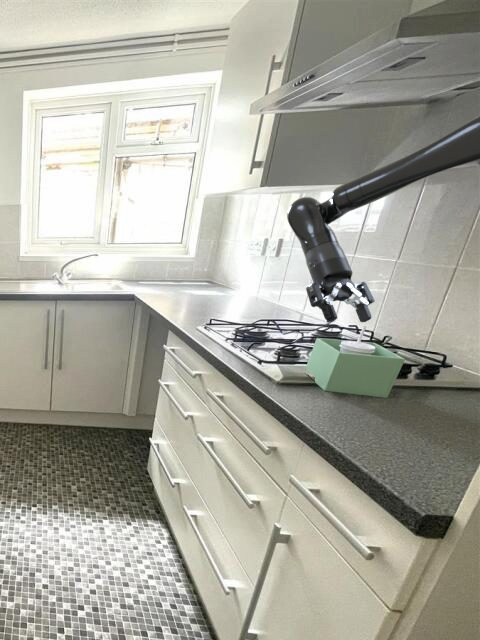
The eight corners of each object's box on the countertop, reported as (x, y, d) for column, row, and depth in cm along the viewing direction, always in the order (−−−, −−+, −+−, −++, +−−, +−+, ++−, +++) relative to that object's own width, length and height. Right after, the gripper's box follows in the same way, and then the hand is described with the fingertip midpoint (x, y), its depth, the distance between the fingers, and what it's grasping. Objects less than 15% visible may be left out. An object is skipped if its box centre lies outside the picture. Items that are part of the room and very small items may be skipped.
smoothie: (356, 380, 104) (379, 325, 98) (362, 389, 99) (387, 332, 93) (324, 375, 107) (345, 322, 101) (328, 383, 102) (350, 328, 96)
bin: (359, 378, 106) (374, 342, 103) (387, 398, 96) (405, 359, 92) (303, 372, 110) (316, 337, 106) (324, 390, 99) (339, 353, 95)
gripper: (312, 255, 103) (334, 312, 97) (367, 255, 103) (392, 312, 98) (289, 273, 110) (309, 328, 104) (341, 274, 110) (363, 328, 105)
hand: (349, 320), depth 101 cm, fingers open, 8 cm apart
